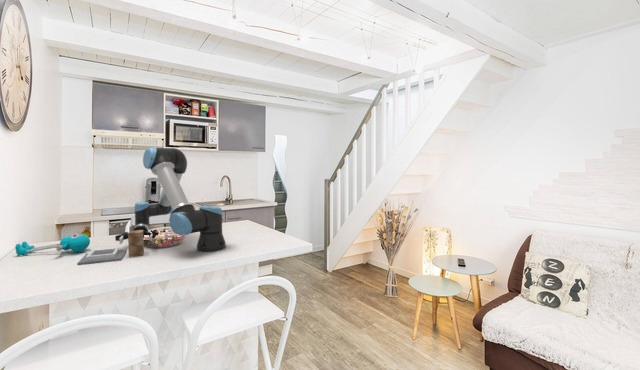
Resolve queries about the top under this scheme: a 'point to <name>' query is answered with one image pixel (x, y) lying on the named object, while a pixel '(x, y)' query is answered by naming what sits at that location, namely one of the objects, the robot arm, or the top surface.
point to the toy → (58, 245)
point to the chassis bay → (102, 256)
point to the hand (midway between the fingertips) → (135, 240)
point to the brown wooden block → (136, 243)
